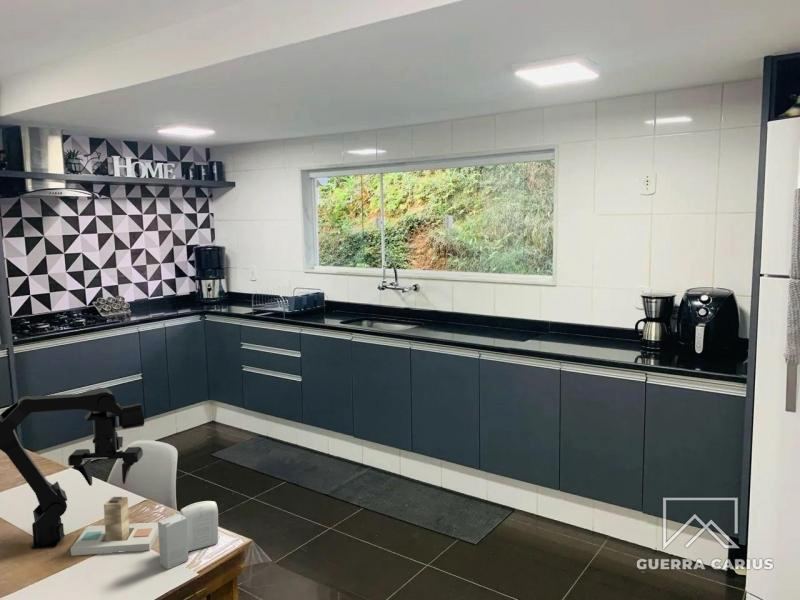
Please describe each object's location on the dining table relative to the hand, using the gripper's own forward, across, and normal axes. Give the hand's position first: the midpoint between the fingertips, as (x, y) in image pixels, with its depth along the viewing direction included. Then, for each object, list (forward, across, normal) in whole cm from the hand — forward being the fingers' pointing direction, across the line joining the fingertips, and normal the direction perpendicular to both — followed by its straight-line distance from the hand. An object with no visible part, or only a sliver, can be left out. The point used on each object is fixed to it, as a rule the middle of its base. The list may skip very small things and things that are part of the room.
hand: (107, 484), depth 173 cm
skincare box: (+13, -23, +22) cm, 34 cm away
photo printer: (+13, -28, +14) cm, 34 cm away
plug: (+13, -5, +9) cm, 17 cm away
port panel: (+13, -5, +9) cm, 17 cm away
